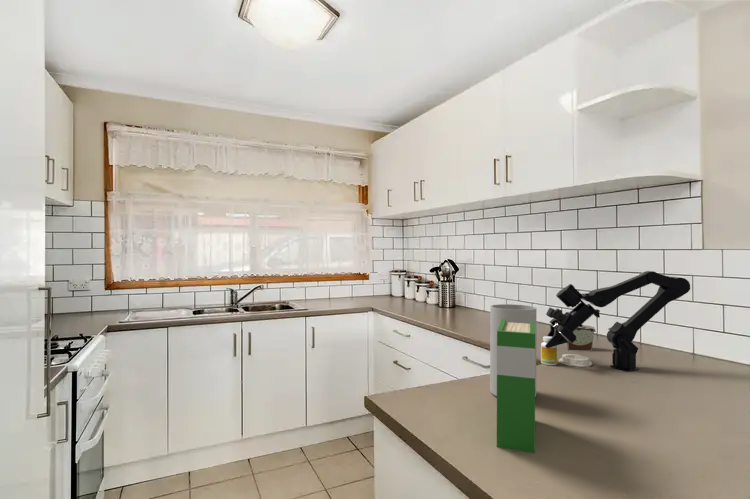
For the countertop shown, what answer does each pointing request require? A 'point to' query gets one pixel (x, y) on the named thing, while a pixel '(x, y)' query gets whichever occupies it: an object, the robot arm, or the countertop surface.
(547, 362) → the supplement bottle
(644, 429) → the countertop surface
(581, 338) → the food container
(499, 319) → the cylinder vase
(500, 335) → the hardback book
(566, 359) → the holder ring
